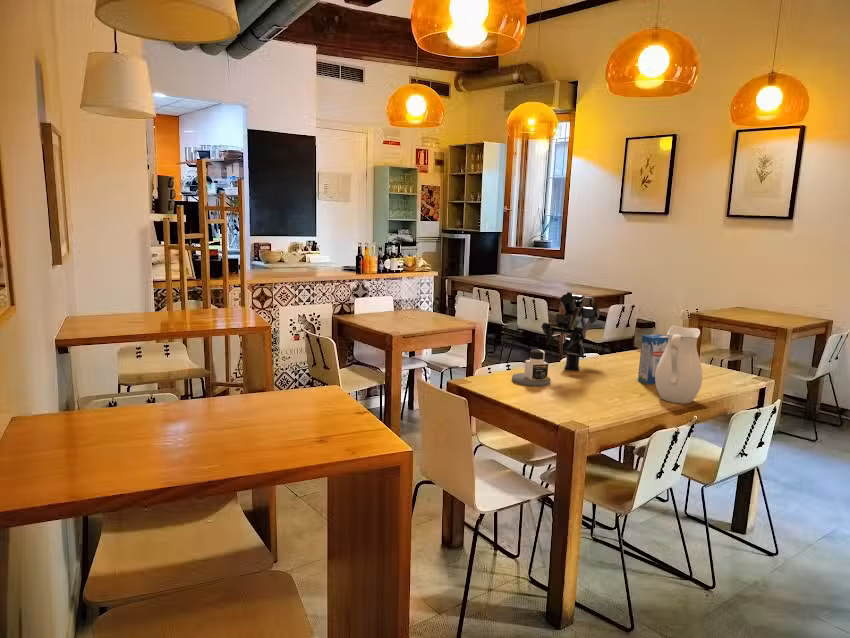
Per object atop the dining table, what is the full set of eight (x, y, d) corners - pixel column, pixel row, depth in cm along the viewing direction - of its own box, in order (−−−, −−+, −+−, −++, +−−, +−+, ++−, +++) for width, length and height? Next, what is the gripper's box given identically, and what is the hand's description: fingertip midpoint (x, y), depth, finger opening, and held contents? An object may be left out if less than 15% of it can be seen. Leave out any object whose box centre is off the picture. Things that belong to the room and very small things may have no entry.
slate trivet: (514, 374, 274) (514, 371, 273) (551, 378, 270) (552, 375, 269) (509, 384, 259) (509, 380, 258) (548, 388, 254) (549, 384, 254)
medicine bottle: (532, 380, 259) (534, 352, 257) (524, 376, 266) (525, 348, 264) (547, 380, 261) (549, 351, 259) (539, 375, 268) (540, 348, 266)
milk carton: (656, 379, 275) (660, 334, 272) (666, 382, 269) (671, 337, 266) (637, 380, 271) (642, 335, 268) (647, 384, 266) (652, 338, 262)
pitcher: (659, 390, 257) (666, 323, 252) (703, 399, 247) (711, 329, 242) (642, 404, 237) (649, 331, 232) (689, 413, 228) (698, 338, 223)
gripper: (544, 304, 276) (531, 332, 269) (585, 309, 266) (573, 338, 259) (550, 319, 284) (538, 347, 277) (590, 325, 273) (579, 354, 266)
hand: (556, 346), depth 270 cm, fingers open, 9 cm apart
